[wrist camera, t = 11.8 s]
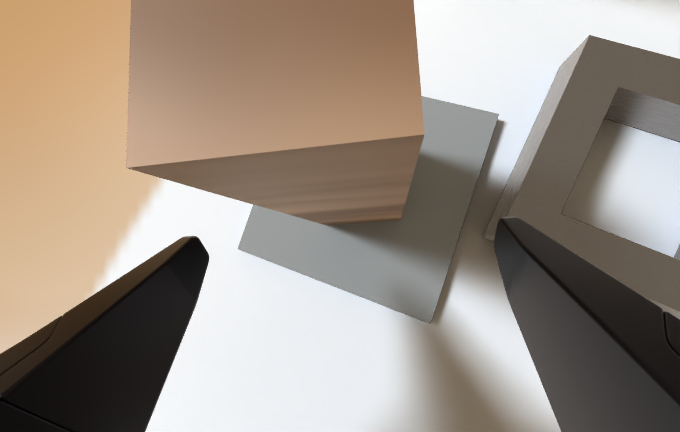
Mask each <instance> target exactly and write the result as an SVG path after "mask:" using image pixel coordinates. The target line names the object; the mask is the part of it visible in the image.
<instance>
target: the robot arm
mask: <svg viewBox="0 0 680 432" xmlns="http://www.w3.org/2000/svg"><path fill="white" fill-rule="evenodd" d="M494 249H495V253H496V256H497V260H498V264H499V268H500V272H501V275H502V279H503V283H504V287H505V290H506V294H507V297H508V300H509V303H510V305H511V308H512V310H513V313H514V315H515V318H516V320H517V323H518V325H519V328H520V330H521V333H522V335H523V338H524V340H525V343H526V345H527V348H528V350H529V352H530V355H531V357H532V360H533V362H534V365H535V367H536V370H537V372H538V375H539V377H540V380H541V382H542V385H543V387H544V390H545V392H546V395H547V397H548V399H549V402H550V404H551V407H552V409H553V412H554V414H555V417H556V419H557V422H558V424H559V427H560V429H561V432H680V319H679V318H677V317H676V316H674V315H673V314H671V313H669V312H667V311H664V312H663V309H662V308H661V307H660V306H658V305H656V304H655V303H653V302H652V301H650V300H648V299H647V298H645V297H644V296H642V295H641V294H639V293H637V292H636V291H634V290H633V289H631V288H629V287H628V286H626V285H625V284H623V283H622V282H620V281H618V280H617V279H615V278H614V277H612V276H610V275H609V274H607V273H606V272H604V271H603V270H601V269H599V268H598V267H596V266H595V265H593V264H591V263H590V262H588V261H587V260H585V259H583V258H582V257H580V256H579V255H577V254H576V253H574V252H572V251H571V250H569V249H568V248H566V247H564V246H563V245H561V244H560V243H558V242H557V241H555V240H553V239H552V238H550V237H549V236H547V235H545V234H544V233H542V232H541V231H539V230H538V229H536V228H534V227H533V226H531V225H530V224H528V223H526V222H525V221H523V220H522V219H520V218H518V217H502V218H500V219H499V220H498V223H497V228H496V232H495V237H494ZM208 262H209V254H208V252H207V251H206V249H205V247H204V246H203V244H202V243H201V241H200V239H199V238H198V237H196V236H186V237H182V238H181V239H179V240H177V241H176V242H174V243H173V244H171V245H170V246H168V247H167V248H165V249H164V250H162V251H160V252H159V253H157V254H156V255H154V256H153V257H151V258H150V259H148V260H147V261H145V262H144V263H142V264H140V265H139V266H137V267H136V268H134V269H133V270H131V271H130V272H128V273H127V274H125V275H123V276H122V277H120V278H119V279H117V280H116V281H114V282H113V283H111V284H110V285H108V286H106V287H105V288H103V289H102V290H100V291H99V292H97V293H96V294H94V295H93V296H91V297H89V298H88V299H86V300H85V301H83V302H82V303H80V304H79V305H77V306H76V307H74V308H73V309H71V310H69V311H68V312H66V313H65V314H64V315H63V316H60V317H59V318H57V319H55V320H54V321H53V322H51V323H49V324H48V325H46V326H45V327H43V328H41V329H40V330H38V331H37V332H35V333H34V334H32V335H30V336H29V337H27V338H26V339H24V340H22V341H21V342H19V343H18V344H16V345H14V346H13V347H11V348H9V349H8V350H6V351H4V352H3V353H1V354H0V432H145V431H146V428H147V426H148V423H149V421H150V418H151V416H152V413H153V411H154V408H155V406H156V403H157V401H158V398H159V396H160V393H161V391H162V388H163V386H164V383H165V381H166V378H167V376H168V373H169V371H170V368H171V366H172V363H173V361H174V358H175V356H176V354H177V351H178V349H179V346H180V344H181V341H182V339H183V336H184V334H185V331H186V329H187V326H188V324H189V321H190V319H191V316H192V314H193V311H194V309H195V306H196V303H197V300H198V297H199V294H200V290H201V287H202V283H203V280H204V276H205V273H206V269H207V266H208Z"/></svg>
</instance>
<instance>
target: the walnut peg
mask: <svg viewBox="0 0 680 432" xmlns="http://www.w3.org/2000/svg"><path fill="white" fill-rule="evenodd" d="M130 27H131V28H130V61H129V92H128V125H127V158H126V168H129V169H132V170H135V171H139V172H143V173H146V174H149V175H153V176H156V177H160V178H163V179H167V180H170V181H174V182H177V183H181V184H184V185H188V186H191V187H195V188H198V189H202V190H205V191H208V192H212V193H215V194H219V195H222V196H226V197H229V198H233V199H236V200H240V201H243V202H247V203H250V204H254V205H257V206H261V207H264V208H268V209H271V210H275V211H278V212H282V213H285V214H288V215H292V216H295V217H299V218H302V219H306V220H309V221H313V222H316V223H320V224H323V225H330V224H346V223H361V222H377V221H393V220H401V217H402V213H403V210H404V206H405V203H406V199H407V195H408V192H409V188H410V185H411V181H412V177H413V174H414V170H415V167H416V163H417V159H418V156H419V152H420V149H421V145H422V141H423V138H424V123H423V111H422V99H421V87H420V75H419V63H418V50H417V38H416V26H415V14H414V2H413V0H131V26H130Z"/></svg>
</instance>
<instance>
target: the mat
mask: <svg viewBox="0 0 680 432" xmlns="http://www.w3.org/2000/svg"><path fill="white" fill-rule="evenodd" d="M421 99H422V111H423V123H424V138H423V141H422V145H421V149H420V152H419V156H418V159H417V163H416V167H415V170H414V174H413V177H412V181H411V185H410V188H409V192H408V195H407V199H406V203H405V206H404V210H403V213H402V217H401V220H393V221H377V222H361V223H346V224H330V225H323V224H320V223H316V222H313V221H309V220H306V219H302V218H299V217H295V216H292V215H288V214H285V213H282V212H278V211H275V210H271V209H268V208H264V207H261V206H257V205H254V204H253V207H252V210H251V213H250V215H249V218H248V221H247V224H246V227H245V230H244V232H243V235H242V238H241V241H240V244H239V247H238V249H239V250H242V251H244V252H247V253H249V254H252V255H255V256H257V257H260V258H262V259H265V260H267V261H270V262H272V263H275V264H278V265H280V266H283V267H285V268H288V269H290V270H293V271H296V272H298V273H301V274H303V275H306V276H308V277H311V278H314V279H316V280H319V281H321V282H324V283H326V284H329V285H332V286H334V287H337V288H339V289H342V290H344V291H347V292H350V293H352V294H355V295H357V296H360V297H362V298H365V299H368V300H370V301H373V302H375V303H378V304H380V305H383V306H386V307H388V308H391V309H393V310H396V311H398V312H401V313H404V314H406V315H409V316H411V317H414V318H416V319H419V320H422V321H424V322H427V323H429V324H430V323H431V320H432V317H433V314H434V311H435V308H436V305H437V302H438V299H439V296H440V293H441V290H442V287H443V284H444V281H445V278H446V275H447V272H448V268H449V265H450V262H451V259H452V256H453V253H454V250H455V247H456V244H457V241H458V238H459V235H460V232H461V229H462V226H463V223H464V220H465V217H466V214H467V210H468V207H469V204H470V201H471V198H472V195H473V192H474V189H475V186H476V183H477V180H478V177H479V174H480V171H481V168H482V165H483V162H484V159H485V155H486V152H487V149H488V146H489V143H490V140H491V137H492V134H493V131H494V128H495V125H496V122H497V119H498V116H499V114H496V113H492V112H487V111H483V110H479V109H474V108H470V107H466V106H462V105H457V104H453V103H449V102H444V101H440V100H436V99H431V98H427V97H423V96H421Z"/></svg>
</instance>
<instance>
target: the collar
mask: <svg viewBox="0 0 680 432" xmlns="http://www.w3.org/2000/svg"><path fill="white" fill-rule="evenodd" d="M604 118H606V119H609V120H612V121H616V122H619V123H622V124H625V125H628V126H631V127H635V128H638V129H641V130H644V131H647V132H650V133H653V134H657V135H660V136H663V137H666V138H669V139H672V140H676V141H679V142H680V59H677V58H674V57H670V56H666V55H662V54H659V53H655V52H651V51H647V50H643V49H640V48H636V47H632V46H628V45H625V44H621V43H617V42H613V41H610V40H606V39H602V38H598V37H594V36H591V35H589V36H588V37H587V38H586V39H585V40H584V42H583V43H582V44H581V45H580V46H579V47H578V48H577V49H576V50H575V51H574V52H573V53H572V54H571V55H570V57H569V58H568V59H567V60H566V61H565V62H564V63H563V64H562V65H561V66H560V68H559V70H558V72H557V74H556V77H555V79H554V81H553V83H552V85H551V88H550V90H549V92H548V94H547V96H546V99H545V101H544V103H543V105H542V107H541V110H540V112H539V114H538V116H537V118H536V121H535V123H534V125H533V127H532V129H531V132H530V134H529V136H528V138H527V140H526V143H525V145H524V147H523V149H522V151H521V154H520V156H519V158H518V160H517V162H516V165H515V167H514V169H513V171H512V173H511V176H510V178H509V180H508V182H507V184H506V187H505V189H504V191H503V193H502V195H501V197H500V200H499V202H498V204H497V206H496V208H495V211H494V213H493V215H492V217H491V219H490V222H489V224H488V226H487V228H486V230H485V233H484V235H483V237H484V238H487V239H489V240H491V241H494V237H495V232H496V228H497V223H498V220H499V219H500V218H502V217H518V218H520V219H522V220H523V221H525V222H526V223H528V224H530V225H531V226H533V227H534V228H536V229H538V230H539V231H541V232H542V233H544V234H545V235H547V236H549V237H550V238H552V239H553V240H555V241H557V242H558V243H560V244H561V245H563V246H564V247H566V248H568V249H569V250H571V251H572V252H574V253H576V254H577V255H579V256H580V257H582V258H583V259H585V260H587V261H588V262H590V263H591V264H593V265H595V266H596V267H598V268H599V269H601V270H603V271H604V272H606V273H607V274H609V275H610V276H612V277H614V278H615V279H617V280H618V281H620V282H622V283H623V284H625V285H626V286H628V287H629V288H631V289H633V290H634V291H636V292H637V293H639V294H641V295H642V296H644V297H645V298H647V299H648V300H650V301H652V302H653V303H655V304H656V305H658V306H660V307H661V308H662V309H663V312H664V311H667V312H669V313H671V314H673V315H674V316H676V317H677V318H679V319H680V245H679V248H678V250H677V252H676V254H675V257H674V258H673V257H670V256H668V255H665V254H662V253H660V252H657V251H655V250H652V249H650V248H647V247H644V246H642V245H639V244H637V243H634V242H632V241H629V240H626V239H624V238H621V237H619V236H616V235H614V234H611V233H608V232H606V231H603V230H601V229H598V228H596V227H593V226H591V225H588V224H585V223H583V222H580V221H578V220H575V219H573V218H570V217H567V216H565V215H562V214H561V212H562V210H563V208H564V206H565V203H566V201H567V199H568V197H569V194H570V192H571V190H572V188H573V186H574V183H575V181H576V179H577V177H578V175H579V172H580V170H581V168H582V166H583V163H584V161H585V159H586V157H587V155H588V152H589V150H590V148H591V146H592V144H593V141H594V139H595V137H596V135H597V133H598V130H599V128H600V126H601V124H602V121H603V119H604Z"/></svg>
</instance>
